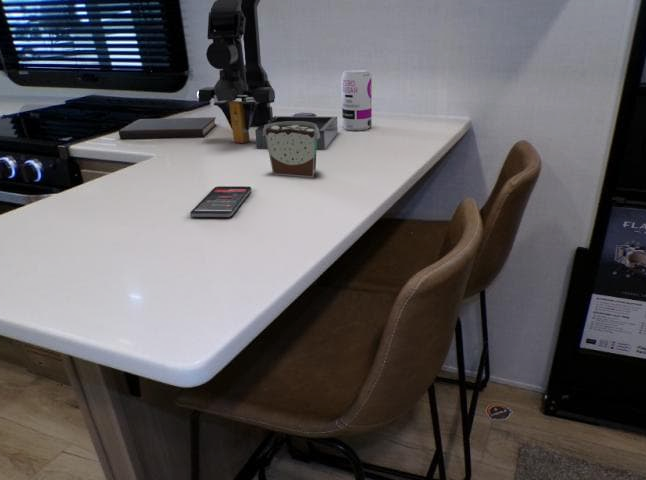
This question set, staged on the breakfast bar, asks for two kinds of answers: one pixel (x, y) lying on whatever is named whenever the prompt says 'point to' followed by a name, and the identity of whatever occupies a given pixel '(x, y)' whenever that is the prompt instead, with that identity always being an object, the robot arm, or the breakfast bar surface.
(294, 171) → the food container
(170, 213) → the breakfast bar surface
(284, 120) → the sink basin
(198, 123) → the hardcover book
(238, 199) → the smartphone
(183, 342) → the breakfast bar surface
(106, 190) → the breakfast bar surface
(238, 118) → the supplement box
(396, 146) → the breakfast bar surface
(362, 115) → the supplement can
